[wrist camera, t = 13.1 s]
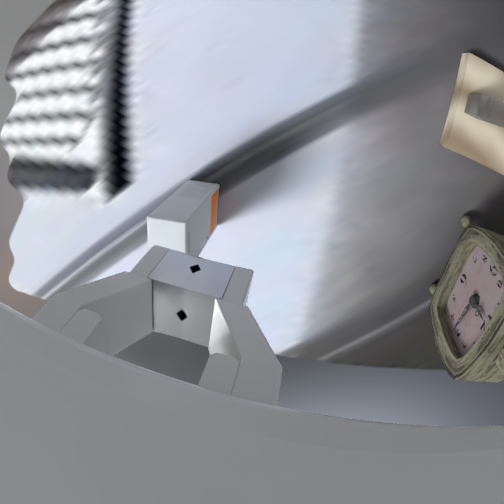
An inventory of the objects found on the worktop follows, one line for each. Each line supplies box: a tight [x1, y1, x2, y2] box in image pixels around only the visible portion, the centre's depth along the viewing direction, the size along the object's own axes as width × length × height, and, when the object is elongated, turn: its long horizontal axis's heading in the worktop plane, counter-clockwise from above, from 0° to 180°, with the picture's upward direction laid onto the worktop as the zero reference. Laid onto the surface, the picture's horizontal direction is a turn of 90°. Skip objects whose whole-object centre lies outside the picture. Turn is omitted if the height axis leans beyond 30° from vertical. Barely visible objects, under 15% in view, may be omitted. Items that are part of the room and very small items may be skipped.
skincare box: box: [147, 180, 220, 257], centre depth 35 cm, size 6×4×12 cm
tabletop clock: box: [429, 215, 504, 382], centre depth 27 cm, size 14×9×25 cm, turn 171°
